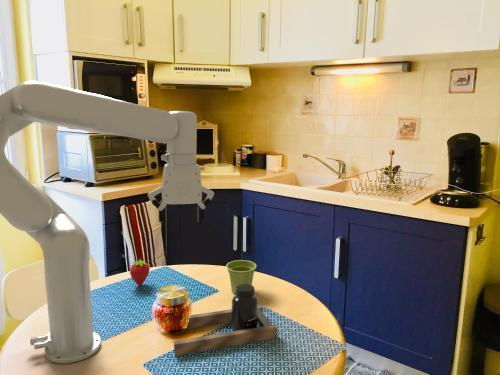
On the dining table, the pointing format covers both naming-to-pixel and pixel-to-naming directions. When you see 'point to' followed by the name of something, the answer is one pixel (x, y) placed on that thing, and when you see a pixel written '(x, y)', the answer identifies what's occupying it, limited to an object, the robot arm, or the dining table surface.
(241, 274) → the plant pot
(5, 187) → the robot arm
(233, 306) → the supplement bottle
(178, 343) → the channel
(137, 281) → the strawberry
